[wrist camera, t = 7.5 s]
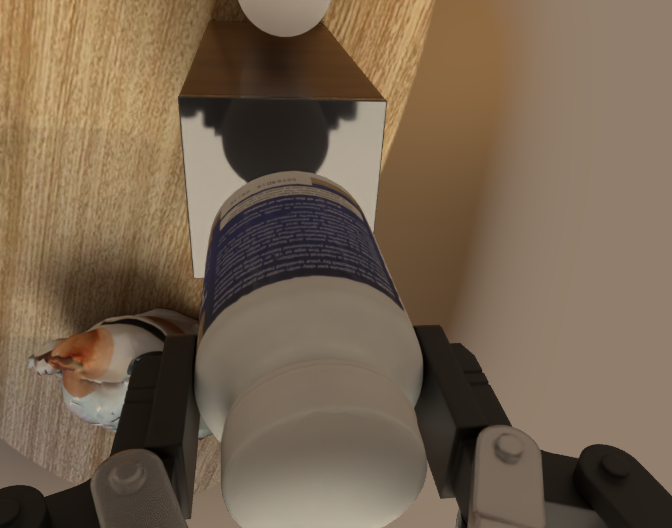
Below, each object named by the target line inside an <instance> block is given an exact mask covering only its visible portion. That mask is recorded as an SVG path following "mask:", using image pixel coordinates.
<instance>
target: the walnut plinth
mask: <svg viewBox="0 0 672 528" xmlns="http://www.w3.org/2000/svg"><path fill="white" fill-rule="evenodd" d="M180 94H195V95H243V96H290V97H337V98H383V96H382V95H381V94H380V93H379V91H378V90H377V89H376V88H375V87H374V85H373V84H372V83H371V82H370V80H369V79H368V78H367V77H366V75H365V74H364V73H363V72H362V71H361V69H360V68H359V67H358V66H357V64H356V63H355V62H354V61H353V59H352V58H351V57H350V56H349V54H348V53H347V52H346V51H345V50H344V48H343V47H342V46H341V45H340V43H339V42H338V41H337V40H336V38H335V37H334V36H333V35H332V34H331V32H330V31H329V30H328V29H327V27H326V26H325V25H316V26H315V27H313V28H312V29H310V30H309V31H307V32H305V33H303V34H300V35H296V36H292V37H280V36H275V35H271V34H269V33H267V32H264V31H262V30H261V29H259V28H258V27H257V26H255V25H254V24H253V23H252V22H229V21H209V23H208V25H207V28H206V30H205V33H204V35H203V38H202V40H201V43H200V45H199V48H198V50H197V53H196V55H195V58H194V60H193V63H192V65H191V68H190V70H189V73H188V75H187V77H186V80H185V82H184V85H183V87H182V90H181V92H180Z"/></svg>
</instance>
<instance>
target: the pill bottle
mask: <svg viewBox="0 0 672 528" xmlns="http://www.w3.org/2000/svg"><path fill="white" fill-rule="evenodd" d="M423 371H424V369H423V357H422V353H421V349H420V345H419V342H418V339H417V337H416V334H415V331H414V328H413V326H412V324H411V322H410V319H409V317H408V315H407V312H406V310H405V308H404V306H403V303H402V301H401V299H400V296H399V294H398V292H397V289H396V287H395V285H394V283H393V280H392V278H391V275H390V273H389V270H388V268H387V265H386V263H385V261H384V259H383V256H382V253H381V251H380V249H379V246H378V244H377V242H376V239H375V236H374V235H373V233H372V230H371V228H370V226H369V223H368V221H367V219H366V217H365V215H364V213H363V211H362V209H361V207H360V206H359V204H358V203H357V202H356V200H355V199H354V198H353V197H352V195H351V194H350V193H349V192H348V191H346V190H345V189H344V188H343V187H342V186H340V185H338V184H337V183H335V182H333V181H331V180H330V179H328V178H326V177H323V176H321V175H317V174H313V173H308V172H300V171H287V172H278V173H273V174H269V175H265V176H262V177H260V178H257V179H255V180H252V181H250V182H249V183H247V184H245V185H243V186H242V187H241V188H239V189H238V190H237V191H236V192H234V193H233V194H232V195H231V196H230V197H229V198H228V199H227V200H226V201H225V202H224V204H223V205H222V206H221V208H220V209H219V211H218V212H217V214H216V216H215V218H214V221H213V224H212V227H211V231H210V236H209V241H208V249H207V256H206V264H205V274H204V282H203V291H202V299H201V309H200V317H199V329H198V337H197V346H196V355H195V364H194V393H195V399H196V403H197V406H198V409H199V411H200V414H201V416H202V418H203V420H204V422H205V423H206V425H207V426H208V428H209V429H210V431H211V432H212V433H213V434H214V436H215V437H216V438H217V439H218V440H219V441H220V442H221V489H222V496H223V499H224V502H225V505H226V508H227V510H228V512H229V513H230V515H231V516H232V517H233V519H234V520H235V521H236V522H237V523H238V524H239V525H240V526H242V527H243V528H383V527H384V526H386V525H387V524H389V523H390V522H392V521H393V520H395V519H396V518H398V517H399V516H400V515H401V514H402V513H404V512H405V511H406V510H407V509H408V508H409V507H410V506H411V505H412V503H413V502H414V501H415V500H416V498H417V496H418V495H419V493H420V492H421V490H422V488H423V485H424V482H425V478H426V473H427V458H426V452H425V448H424V444H423V441H422V438H421V434H420V431H419V428H418V424H417V417H416V413H415V410H414V407H415V405H416V403H417V400H418V398H419V395H420V392H421V387H422V382H423Z"/></svg>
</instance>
